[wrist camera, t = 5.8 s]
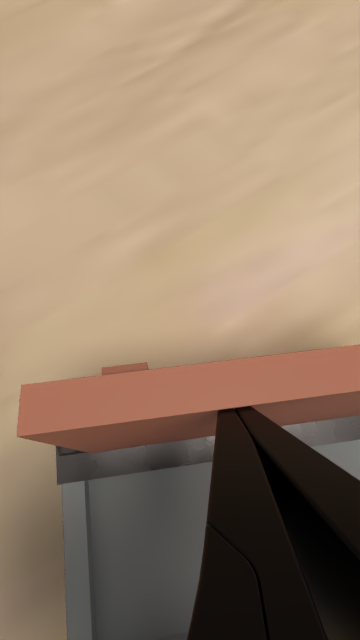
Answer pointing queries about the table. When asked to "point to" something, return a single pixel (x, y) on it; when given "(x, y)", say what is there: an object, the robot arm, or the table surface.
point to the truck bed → (143, 549)
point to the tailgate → (188, 399)
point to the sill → (183, 452)
